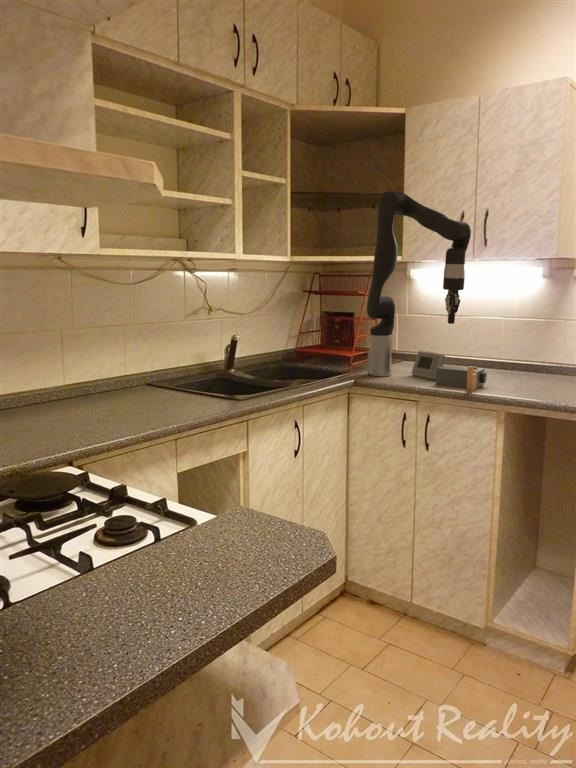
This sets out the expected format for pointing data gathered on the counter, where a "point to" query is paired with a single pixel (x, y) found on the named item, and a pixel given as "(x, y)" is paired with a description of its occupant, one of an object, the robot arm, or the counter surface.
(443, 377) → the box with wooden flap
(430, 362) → the digital clock
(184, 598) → the counter surface
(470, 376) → the orange flat l-shaped piece
